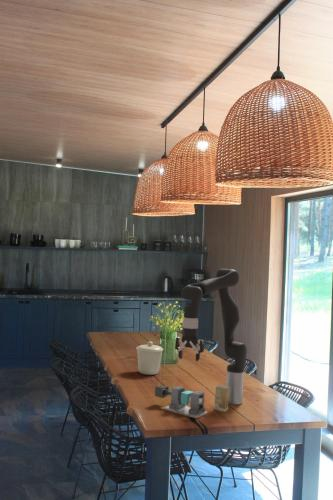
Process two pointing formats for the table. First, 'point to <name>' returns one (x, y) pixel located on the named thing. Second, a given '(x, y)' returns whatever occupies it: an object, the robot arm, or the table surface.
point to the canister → (149, 358)
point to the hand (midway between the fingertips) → (188, 359)
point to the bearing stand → (177, 407)
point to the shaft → (168, 393)
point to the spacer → (185, 397)
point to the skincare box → (221, 398)
